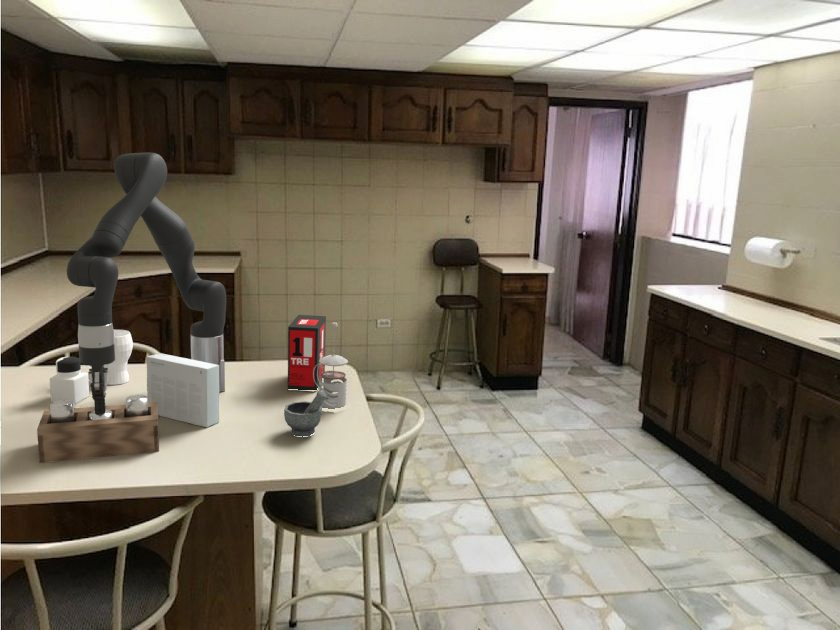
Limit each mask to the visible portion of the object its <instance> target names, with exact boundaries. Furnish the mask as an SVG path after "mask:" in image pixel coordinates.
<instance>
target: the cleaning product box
mask: <svg viewBox="0 0 840 630" xmlns="http://www.w3.org/2000/svg"><path fill="white" fill-rule="evenodd" d="M326 323H327V316H325V315H311V314H297V316H296V317H295V318H294V319H293V320H292V322H290V324H289V325H288V327H287V329H288V330H287V390H288V389H298V390H317V388H318V386H319V381H318V378H319V379H320V378H322V377H321V373H322V372H325V371H326V368H325V367H326V366H325V367H324V365H323V364H321V365H322V367H324V368H321V365H320V364H319V363H320V362H319V360H320V359H321V358H323V357H325V356H326V332H327V330H326V328H327V327H326ZM317 364H319V365H320V366H319V365H317ZM316 365H317V366H316ZM315 366H316V368H315ZM318 366H319V368H318ZM314 368H315V370H314ZM317 368H318V377H317ZM313 370H314V378H313ZM314 379H315V382H316V383H317V385H318V386H317V385H316V383H315V382H314ZM318 389H319V388H318ZM317 391H318V390H317Z"/></svg>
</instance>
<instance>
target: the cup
mask: <svg viewBox="0 0 840 630" xmlns="http://www.w3.org/2000/svg"><path fill="white" fill-rule="evenodd" d="M114 343H115V361H114V362H112V363H110V364H105V365H104V368H108V375H107V386H108V385H109V386H113V385H114V386H115V385H122V384H125V383H128V382H130V376H129V372H128V360H129V359H130V357H131V354H132V351H133V347H134V344H133V338H132V334H131V332H130V331H129V330H125V329H114Z"/></svg>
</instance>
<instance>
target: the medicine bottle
mask: <svg viewBox="0 0 840 630" xmlns="http://www.w3.org/2000/svg"><path fill="white" fill-rule="evenodd" d="M81 365H82V364H81V363H80V361H79V357H76V356H64V357H60V358H58V359H57V360H56V361H55V368H56V369H55V370H56V374H55V375H54V376H51V377H50V378H49V390H50V402H51V403H52V402H55V401H60V400H70V401H73V404H74V405H76V404H79V403H80V402H81V401H83V400H85V399H87V398H89V397H90V380H89V378H88V372H85V371H84V372H83V371H82V368H81V367H82V366H81Z"/></svg>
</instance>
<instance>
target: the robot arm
mask: <svg viewBox="0 0 840 630" xmlns="http://www.w3.org/2000/svg"><path fill="white" fill-rule="evenodd" d="M113 166H114V167H113V168H114V174H115V177H116V180H117V182H118V184H119V185H120V187H121V189H122V190H123V191H124V193H125V196H123V197H122V198H121V199H120V200H118V201H117V202H116V203H115V204H114V205H113V206H111V207H110V208H109V209H108V210H107V211H106V212H105V213H104V214H103V216H102V217H101V219H100V220H99V221H98V224H97V225H96V227H95V229H94V230H93V231H94V232H93V233H92V235H91V237H90V238H89V239H88V240H86V241H85V242H84V243H83V245H82V246H80V247H79V249H78V250H76V252H74V253H73V254H72V256H71V257H70V259H69V261H68V263H67V266H66V276H67V279H68V281H69V282H70V283H71V284H72V285H74V286H77V287H85V288H86V287H87V288H95V291H94V294H93V295H92V296H86V297H83V298H80V299H79V300H78V303H77V319H78V327H77V340H78V343H77V344H78V358H79V361H80V364H81V365H83V366H89V367H91V368H88V372H87V373H88V381H89V391H90V392H91V398H92V400H93V401H94V407H95V414H96V415H97V414H105V411H106V408H105V406H106V395H107V393H106V391H107V389H108V387H107V386H108V385H107V375H108V368H104V365H105V364H110V363H112V362H114V361H115V343H114V330H115V329H114V326H113V313H112V312H113V309H112V306H113V305H112V304H113V301H114V297H115V291H116V288H117V283H118V279H119V268H118V265H117V263H116V261H114V260H113V258H115V257H117V256H119V255H120V254H121V253H122V250H124V246H125V245H126V243H127V240H128V239H129V236H130V235H131V233H132V231H133V228H134V227H135V225H136V224H137V222H138V221H139V219H140V217H141V218H142V220H143V222H144V224H145V225H146V227H147V229H148V231H149V233H150V234H151V236H152V238H153V240H154V242H155V244H156V246H157V248H158V250H159V251H160V253H161V255H162V256H163V258H164V260H165V262H166V264H167V265H168V268H169V270H170V271H171V274H172V277H173V278H174V280H175V282H176V286H177V287H178V290H179V293H180V295H181V298H182V300H183V302H184V303H185V305H186V306H187V307H188V308H189V309H191V310H194V311H198V312H203V317H202V320H201V321H197V322H193V323H192V324H191V325H190V359H192V360H196V361H201V362H206V363H211V364H216V365H219V393H220V392H226V384H225V383H226V381H225V380H226V379H225V377H226V376H225V375H226V374H225V373H226V372H225V369H226V368H225V365H226V363H225V359H224V327H225V324H226V312H227V291H226V288H225V286H224V285H223V284H222V283H221V282H219V281H214V280H207V279H202V278H201V277H200V276H199V275H198V273H197V272H196V270H195V268H194V264H193V259H194V255H195V241H194V239H193V236H192V234H191V232H190V230H189V228H188V226H187V224H186V222H185V221H184V220H183V219H182V218H181V216H179V215H178V214H177V213H176V212H174V211H173V210H172V209H170V207H168V206H167V205H165V204H164V203H163V202H162V201H160V199H159V198H157V194H159V192H160V191H161V190H162V188H163V187H164V185H165V182H166V181H167V178H168V177H167V176H168V167H167V164H166V162H165V160H164V158H163V157H162V156H161V155H160V154H158V153H156V152H149V151H148V152H134V153H124V154H120V155H119V156H117V157H116V158H115V162H114V165H113Z"/></svg>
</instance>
